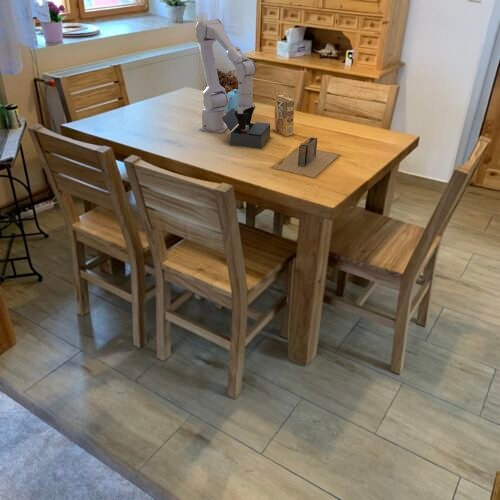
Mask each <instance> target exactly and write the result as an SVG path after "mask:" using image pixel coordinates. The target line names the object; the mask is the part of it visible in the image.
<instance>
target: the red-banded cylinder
mask: <svg viewBox="0 0 500 500" xmlns="http://www.w3.org/2000/svg"><path fill="white" fill-rule="evenodd" d="M248 130H249V126H248V125H246V127H245V130H242V129H241V134H246V133H247V131H248ZM247 135H249V134H247Z"/></svg>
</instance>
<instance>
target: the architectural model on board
mask: <svg viewBox="0 0 500 500" xmlns="http://www.w3.org/2000/svg"><path fill="white" fill-rule="evenodd" d="M318 140H319V138H318V137H314V136H310V137H309V138H308V139H306V140H305V141H304V142H302V143H300V145H299V146H298V149H296V150H295V151H294V152H292V153H291V154H290V155H289V156H287V157H286V158H285V159H283V160H282V161H280V162H279V163H278V164H276V165H275V166H274V167H273V169H275V170H280V171H284V172H285V171H286V172H289V173H293V174H297V175H302V176H307V177H311V178H316V176H317V175H319V174H320V173H321V172H322V171H324V169H326V167H328V166H329V165H330V164H331V163H332V162H333V161H334V160H335V159H336V158H338V157H339V156H340V155H339V154H335V153H330V152H326V151H320V150H317V149H318Z"/></svg>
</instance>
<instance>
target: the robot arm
mask: <svg viewBox="0 0 500 500" xmlns="http://www.w3.org/2000/svg"><path fill="white" fill-rule="evenodd" d="M194 31H195V36H196V40H197V41H196V42H197V44H198V48H199V53H200V59H201V63H202V68H203V72H204V77H205V83H206V88H205V90H204V91H203V93H202V95H203V96H202V97H203V106H204V108H203V109H202V113H201V127H202V128H201V130H202V131H203V132H205V131H207V132H215V133H223V132H224V131H225V130H227V129H228V127H227V126H226V124H225V122H224V121H223V119H222V117H223V116H224V115H226V112H225V111H224V109H226V106H227V105H228V102H229V99H228V96H227V94H228V93H227V92H226V88H225V87H224V86H222V85H221V84H220V79H219V73H218V70H217V64H216V59H215V53H214V49H213V45H214V43H215V42H216V41H217V42H218V44H220V46H221V47H222V48H223V49H224V50H225V52H226V58H227V59H228V60H229V61H230V62H231V64H232V65H233V66H234V70H235V71H234V72H235V75H236V80H237V84H238V85H237V90H238V111H235V116H236V118H237V120H238V124H237V125H239V128H240V129H242V130H245V127H246V124H250V123H252V117H253V113H254V112H255V109H256V103H254V100H253V95H254V94H253V93H254V92H253V91H254V90H253V89H254V86H253V85H254V75H256V72H257V65H256V62H255V61H254V60H253V59H250V58H249V57H247V56H246V55H245V54H244V53H243V51H242V50H241V47H240V46H238V45H234V44H233V42H232V40H231V39H230V38H229V36H228V35H227V33H226V32H225V24H223V22H222V20H221V19H219V18H215V19H208V20H207V19H206V20H198V21H197V23H196V25H195V28H194Z"/></svg>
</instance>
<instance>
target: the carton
mask: <svg viewBox="0 0 500 500" xmlns="http://www.w3.org/2000/svg"><path fill="white" fill-rule="evenodd" d="M246 125H248V126H249V130H248V131H247V133H246V134H241V129H240V128H239V124H237V125H236V126H235V127H234V128H233V130H232V131H230V146H235V147H244V148H253V149H262V148H263V147H264V145H265V144H266V143H267V142H268V140H269V139H270V138H271V123H269V122H259V121H255V123H253V122H251V123H250V124H246ZM247 134H249V135H247Z"/></svg>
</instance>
